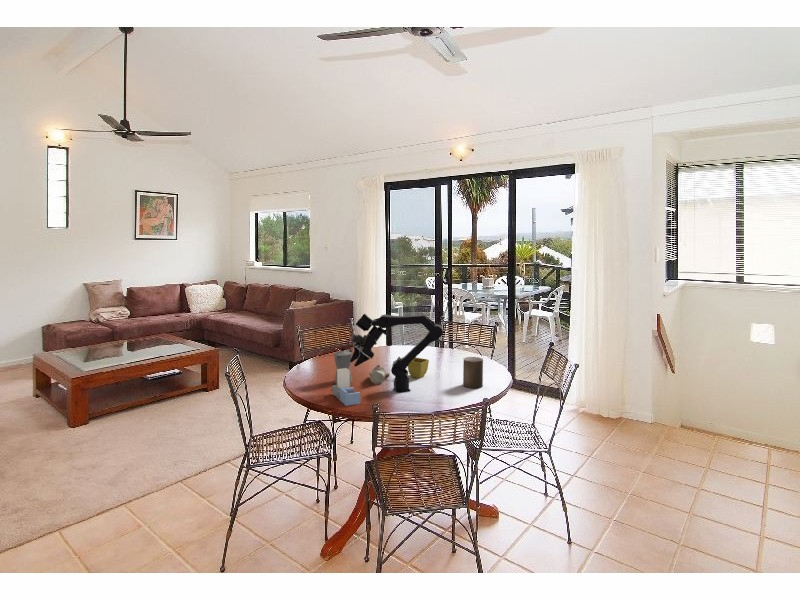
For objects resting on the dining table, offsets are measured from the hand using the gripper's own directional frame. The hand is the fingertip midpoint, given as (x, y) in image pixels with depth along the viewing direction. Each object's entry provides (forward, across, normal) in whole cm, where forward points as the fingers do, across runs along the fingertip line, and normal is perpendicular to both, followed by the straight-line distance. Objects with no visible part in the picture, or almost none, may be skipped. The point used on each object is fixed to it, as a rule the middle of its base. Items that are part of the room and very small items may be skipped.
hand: (352, 363), depth 231 cm
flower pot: (-14, -16, +38) cm, 44 cm away
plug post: (+14, +3, +5) cm, 15 cm away
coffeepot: (+11, -19, +8) cm, 23 cm away
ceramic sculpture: (0, -15, +21) cm, 26 cm away
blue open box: (+14, +4, +4) cm, 15 cm away
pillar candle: (-26, +8, +55) cm, 61 cm away
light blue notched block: (+14, +12, +6) cm, 19 cm away
